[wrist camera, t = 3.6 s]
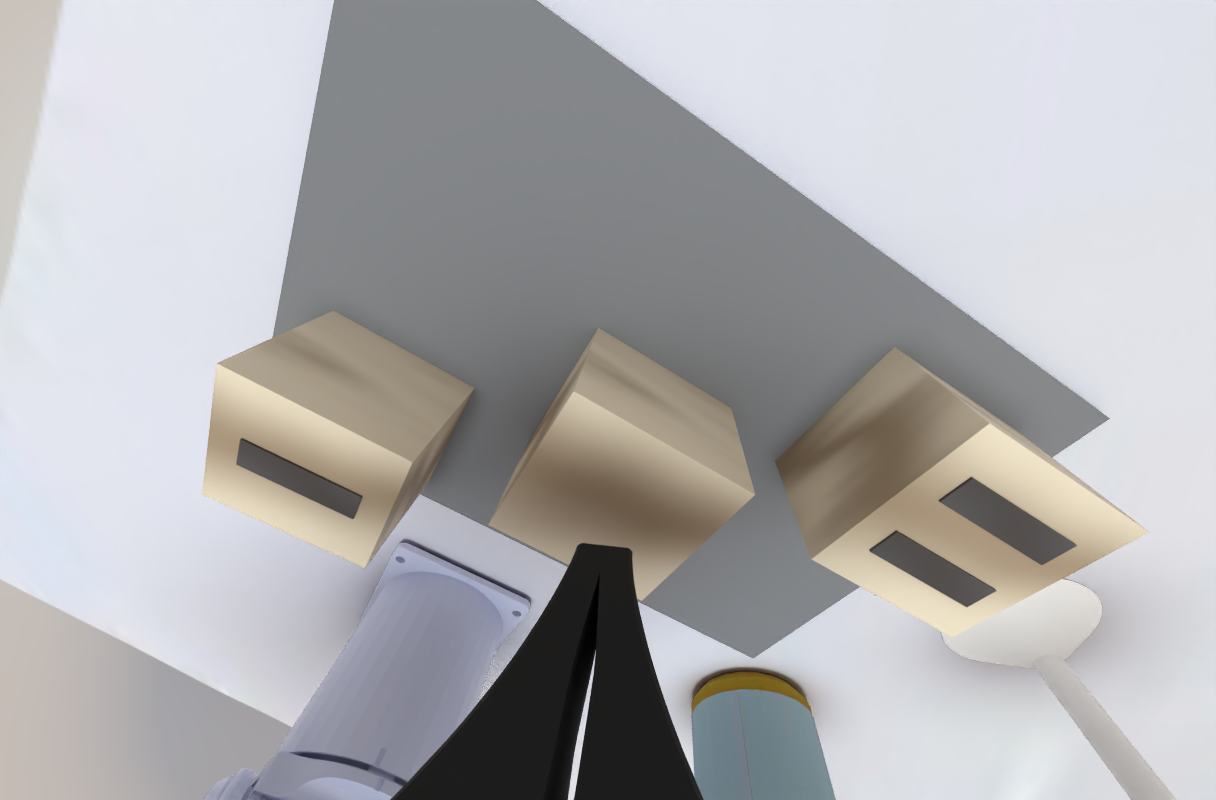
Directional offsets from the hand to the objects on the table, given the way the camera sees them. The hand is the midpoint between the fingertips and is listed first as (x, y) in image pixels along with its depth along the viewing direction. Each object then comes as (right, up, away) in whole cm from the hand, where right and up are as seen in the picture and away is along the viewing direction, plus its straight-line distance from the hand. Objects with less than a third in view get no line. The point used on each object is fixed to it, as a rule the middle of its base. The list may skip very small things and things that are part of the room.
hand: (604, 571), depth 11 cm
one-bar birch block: (-9, +4, +7) cm, 13 cm away
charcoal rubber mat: (+1, +4, +6) cm, 8 cm away
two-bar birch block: (+11, +3, +6) cm, 13 cm away
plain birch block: (+1, +4, +6) cm, 7 cm away
